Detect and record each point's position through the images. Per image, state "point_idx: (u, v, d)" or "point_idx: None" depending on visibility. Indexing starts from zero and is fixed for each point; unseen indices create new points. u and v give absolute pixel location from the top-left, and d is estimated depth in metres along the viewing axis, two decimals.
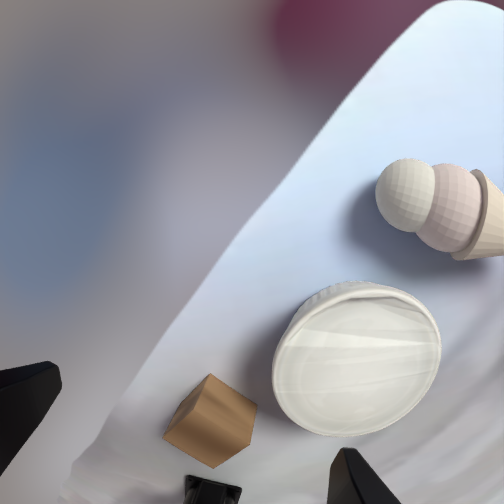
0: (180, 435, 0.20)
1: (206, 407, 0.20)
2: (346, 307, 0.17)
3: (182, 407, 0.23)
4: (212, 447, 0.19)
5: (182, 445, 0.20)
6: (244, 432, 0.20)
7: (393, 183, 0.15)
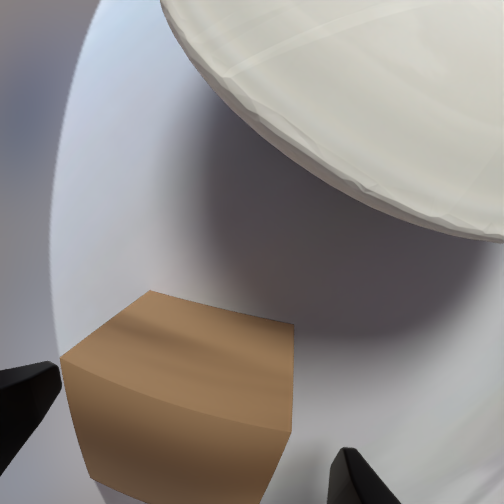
0: (105, 461, 0.06)
1: (112, 350, 0.06)
2: None
3: None
4: (195, 479, 0.06)
5: (132, 488, 0.06)
6: (261, 397, 0.06)
7: None
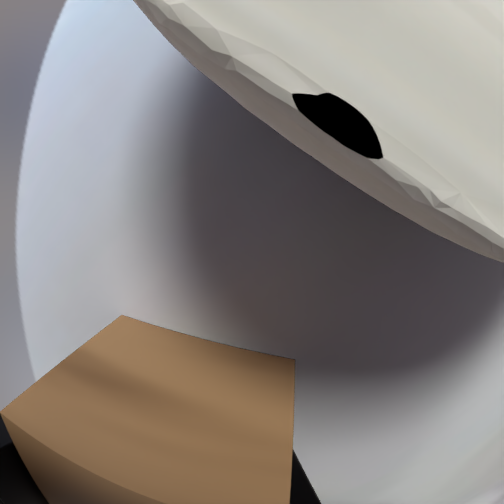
0: None
1: (61, 404, 0.04)
2: None
3: None
4: None
5: None
6: (249, 478, 0.04)
7: None
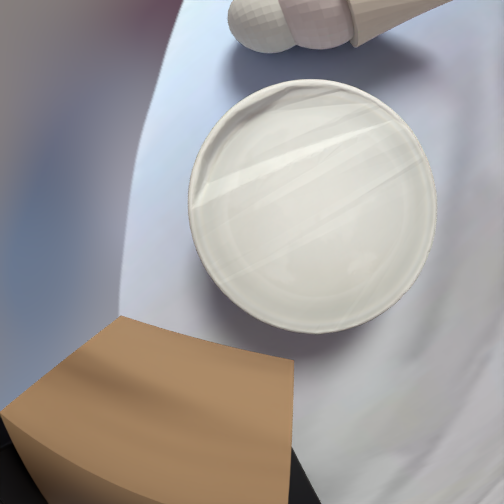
0: None
1: (60, 404, 0.04)
2: (245, 131, 0.13)
3: None
4: None
5: None
6: (248, 478, 0.04)
7: (232, 9, 0.12)
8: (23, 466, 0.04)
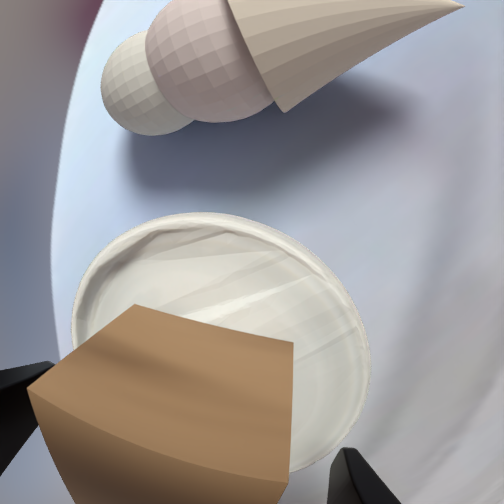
0: (87, 492, 0.05)
1: (84, 379, 0.05)
2: (117, 285, 0.10)
3: None
4: None
5: None
6: (254, 438, 0.05)
7: (101, 85, 0.09)
8: None
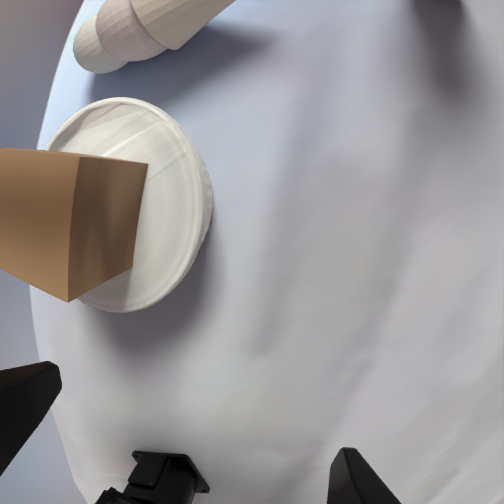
0: (2, 231, 0.09)
1: (26, 149, 0.09)
2: (65, 150, 0.14)
3: None
4: (38, 223, 0.09)
5: (11, 258, 0.09)
6: None
7: (73, 44, 0.13)
8: None
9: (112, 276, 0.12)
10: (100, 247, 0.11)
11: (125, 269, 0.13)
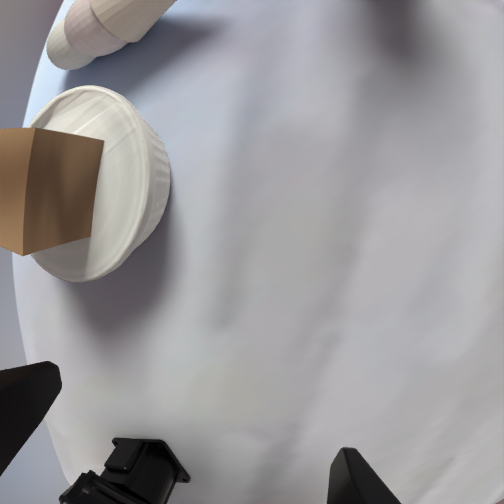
0: None
1: None
2: None
3: None
4: (3, 188, 0.09)
5: None
6: None
7: None
8: None
9: (69, 240, 0.12)
10: (55, 210, 0.11)
11: (83, 236, 0.14)
